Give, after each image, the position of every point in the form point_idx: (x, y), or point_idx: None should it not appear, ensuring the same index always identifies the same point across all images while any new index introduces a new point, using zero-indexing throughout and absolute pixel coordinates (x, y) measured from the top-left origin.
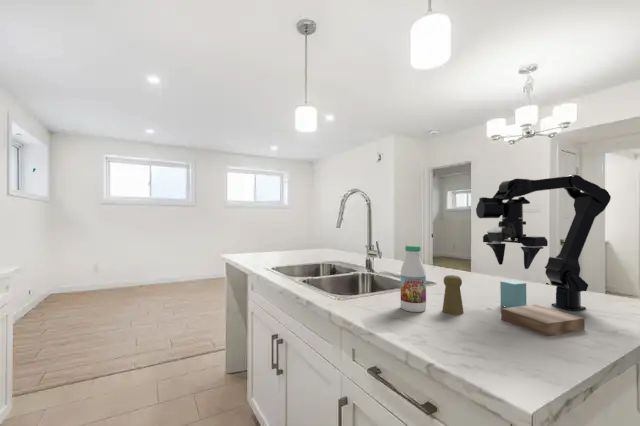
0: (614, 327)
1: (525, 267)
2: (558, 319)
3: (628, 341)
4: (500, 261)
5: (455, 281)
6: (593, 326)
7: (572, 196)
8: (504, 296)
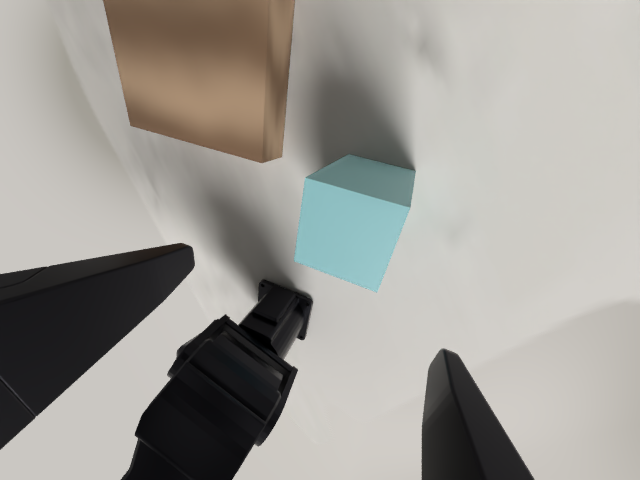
0: (169, 211)
1: (174, 245)
2: (119, 14)
3: (107, 126)
4: (440, 383)
5: None
6: (178, 180)
7: None
8: (389, 175)
